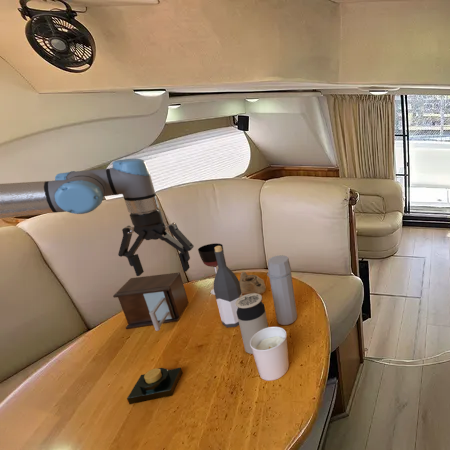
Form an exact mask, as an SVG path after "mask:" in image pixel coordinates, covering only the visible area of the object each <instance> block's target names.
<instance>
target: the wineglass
mask: <svg viewBox="0 0 450 450" xmlns="http://www.w3.org/2000/svg"><path fill="white" fill-rule="evenodd" d="M216 246H221V247H222V250H223V251H224V245H223V244H222V243H216V242H215V243H209V244H205V245H201V246H200V247H199V248H197V251H198V254H199V257H200V259H201V261H202V263H203V265H205V266H207V267H211V268H214V272H215V274H216V273H217V271H218V264H217V260H216V256H215V253H214V252H215V249H214V248H215V247H216ZM223 253H225V252H223ZM210 294H211V295H214V296H215V292H214V287H213V288H211V290H210Z"/></svg>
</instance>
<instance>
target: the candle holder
mask: <svg viewBox="0 0 450 450" xmlns="http://www.w3.org/2000/svg"><path fill="white" fill-rule="evenodd" d="M250 347H251V349H252V352H253V354H252V355H253V359H254V363H255V365H256V369H257V372H258V375H259V378H261V379H262V380H263V381H267V382H268V381H269V382H270V381H276V380H278V379H280V378H282V377H284V376H285V374H286V373H287V372H288V371H289V366H290V362H289V351H288V350H289V349H288V348H289V347H288V333H287V331H286V330H285V328H283V327H280V326H268V328H265V329H262V330H260V331H258V332H257V333H256V334H254V335H253V337H252V338H251V340H250Z"/></svg>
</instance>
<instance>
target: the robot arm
mask: <svg viewBox="0 0 450 450" xmlns="http://www.w3.org/2000/svg"><path fill="white" fill-rule="evenodd" d="M54 179H55V180H42V181H41V180H40V181H24V182H8V183H7V182H6V183H0V219H8V218H17V217H27V216H35V215H36V216H37V215H45V214H54V213H69V214H75V215H84V214H88V213H92V212H94V211H95V210H96V209H97V208H98V207H100V206H101V204H102V202H103V200H104V197H111V196H118V195H122V196H123V199H124V202H125V206H126V209H127V211H128V213H130V214H129V218H130V221H131V223H132V225H133V226H131V225H127V226H125V227H124V228H122V229H121V231H122V238H121V242H120V245H119V250H118V253H117V256H119V257H120V258H122V257H125V258H127V261H128V263H129V266H130V267H133V270H134V273H135V276H136V277H141V275H142V274H143V273H144V272H145V271H144V268H143V265H142V263H141V262H142V261H141V260H140V256H139V254H138V253H136V252H137V251H138V249H139V248H140V246H141V245H142V243H143V242H144V240H145V241H150V240H155V241H157V240H161V241H162V242H163V241H164V242H165V243H167V244H168V245H169V246H171V247H173V248H174V249H175V250H177V251H178V252H179V253H178V256H179V259H180V263H181V266H182V270H183V273H185V272H188V271H189V269H190V264H189V261H190V260H191V256H190V253H189V252H191V251H192V250H193V248H194V247H195V246H194V244H193V243H192V242H191V241H190V240H189V238H187V236H186V235H184V233H183V232H182V231H181V230H180V229H179V227H178V225H177V222H171V223H169V224H166V223H165V222H164V217H163V214H162V211H161V209H160V203H159V201H158V197H157V195H156V191H155V187H154V183H153V179H152V176H151V173H150V170H149V167H148V165H147V162H146V161H145V160H144V159H142V158H125V159H118V160H114V161H113V162H112V167H109V168H102V169H90V170H89V169H88V170H78V171H77V170H76V171H75V170H71V171H67V172H60V173H57V174H56V175H55V176H54ZM167 231H168V232H167ZM133 233H135V234H136V235H138V236H137V237H136V239H135V241H134V242H133V244H132V245H131V246H130V243H131V240H132V237H133ZM170 233H171V234H170ZM129 247H130V248H129Z"/></svg>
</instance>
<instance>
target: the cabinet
mask: <svg viewBox="0 0 450 450" xmlns="http://www.w3.org/2000/svg"><path fill="white" fill-rule="evenodd" d="M183 282H184V281H183V278H182V275H181V272H169V273H163V274H153V275H146V276H136V277H130V278H129V280H126V282H125V283H124V284H123V285H122V286H121V287H120V288H119V289H118V291H116V292H115V293H114V294H113V296H112V297H113V298H117V299H118V301H119V304H120V308H121V309H122V311H123V314H124V317H125V319H126V322H127V325H126V326H125V329H126V330H130V329H138V328H143V327H151V326H154V325H153V322H152V319H151V316H150V314H149V309H148V306H147V303H146V300H145V298H144V295H143V294H146V293H154V292H162V291H167V294H168V297H169V300H170V303H171V306H172V310H173V313H174V316H175V318H173V319H166V320H165V321H164V322H163V324H170V323H176V322H179V321H180V318H181V317H182V315H183V314H184V312H185V310H186V309H187V306H188V305H189V303H190V302H189V299H188V295H187V293H186V287H185V286H184V283H183ZM160 321H161V320H160ZM160 321H158V323H159V322H160ZM163 324H162V325H163Z"/></svg>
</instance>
